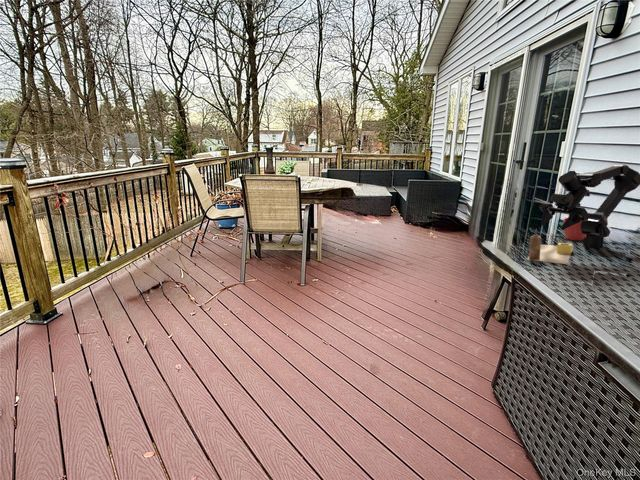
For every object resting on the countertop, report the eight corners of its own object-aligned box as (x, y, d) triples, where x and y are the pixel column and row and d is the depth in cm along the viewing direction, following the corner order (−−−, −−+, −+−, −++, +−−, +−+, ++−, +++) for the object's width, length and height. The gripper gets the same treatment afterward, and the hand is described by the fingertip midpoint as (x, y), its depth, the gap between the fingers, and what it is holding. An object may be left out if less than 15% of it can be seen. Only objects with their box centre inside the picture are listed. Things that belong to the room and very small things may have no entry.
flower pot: (563, 240, 167) (565, 221, 165) (560, 235, 177) (562, 217, 174) (590, 241, 162) (592, 221, 160) (585, 236, 172) (587, 217, 169)
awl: (540, 257, 144) (542, 228, 141) (538, 260, 141) (540, 230, 138) (530, 256, 146) (531, 228, 143) (528, 259, 144) (530, 230, 141)
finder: (571, 251, 148) (572, 243, 147) (570, 253, 145) (571, 245, 145) (558, 250, 152) (558, 242, 151) (556, 252, 149) (557, 244, 148)
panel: (584, 250, 151) (584, 248, 151) (579, 267, 132) (579, 265, 132) (527, 245, 165) (527, 243, 165) (515, 260, 146) (515, 258, 146)
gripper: (543, 184, 149) (522, 212, 149) (587, 187, 131) (563, 219, 131) (556, 200, 153) (535, 227, 153) (600, 205, 135) (576, 236, 135)
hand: (551, 227), depth 143 cm, fingers open, 9 cm apart
